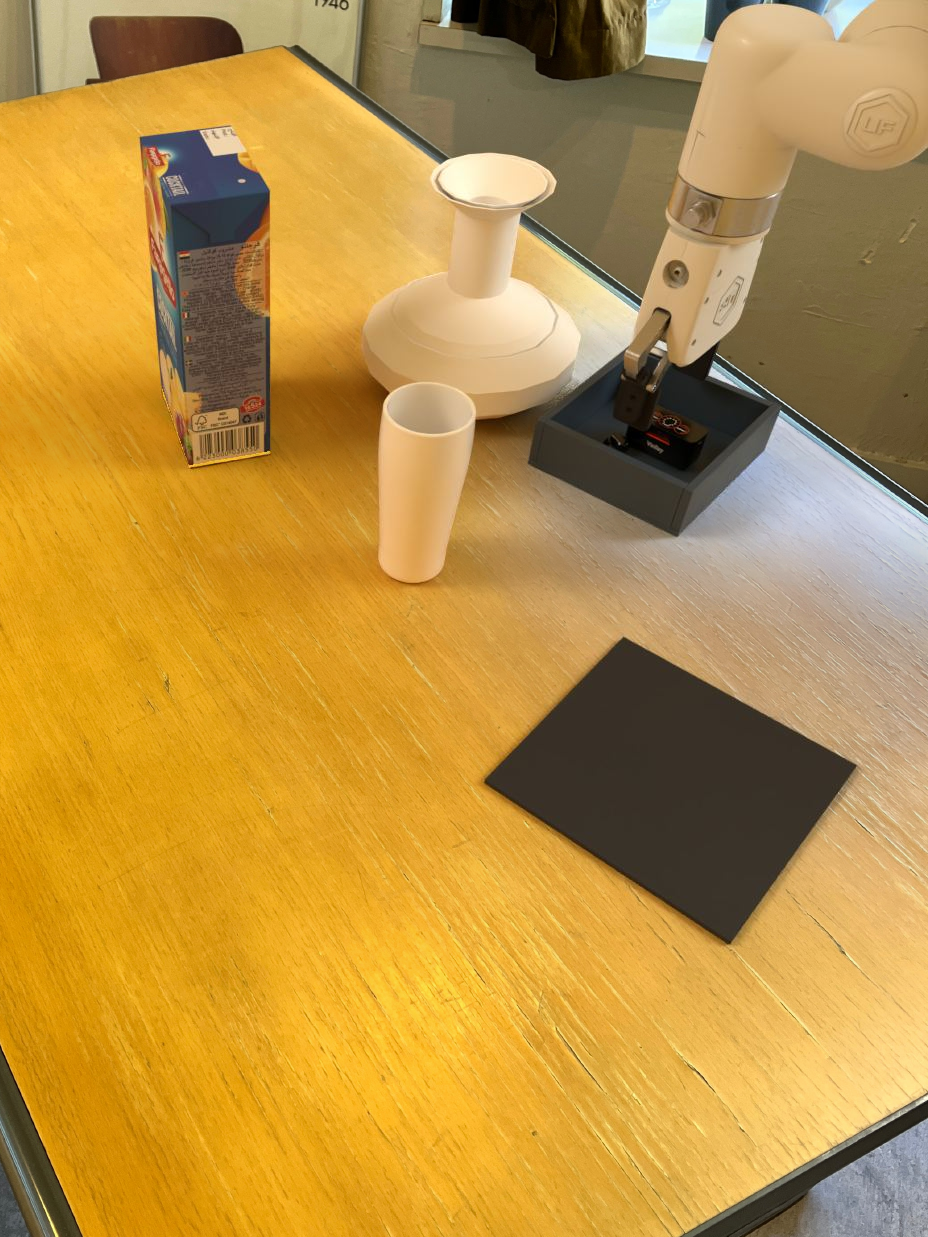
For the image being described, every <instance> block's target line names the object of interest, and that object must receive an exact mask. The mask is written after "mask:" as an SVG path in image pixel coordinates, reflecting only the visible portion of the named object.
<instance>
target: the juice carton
mask: <svg viewBox="0 0 928 1237" xmlns="http://www.w3.org/2000/svg"><path fill="white" fill-rule="evenodd" d="M138 138H139V147H140V160H141V170H142V183H143V195H144V206H145V216H146V217H145V218H146V230H147V239H148V240H147V241H148V252H149V262H150V274H151V285H152V286H151V287H152V297H153V298H152V299H153V308H154V320H155V332H156V343H157V354H158V365H159V366H158V367H159V376H160V377H159V378H160V387H161V386H162V389H163V392H164V395H165V398H166V401H167V404H168V407H169V410H170V413H171V415H172V418H173V422H174V424H175V427H176V430H177V432H178V436H179V438H180V441H181V444H182V447H183V450H184V453H185V456H186V458H187V461H188V464H189V465H193V464H200V463H206V462H209V461H215V460H221V459H228V458H234V457H239V456H245V455H251V454H256V453H262V452H267V451H271V449H272V448H271V189H270V188H269V186H268V184H267V183H266V181H265V180H264V178H263V176H262V175H261V172H260V171H259V170H258V168H257V166H256V164H255V163H254V161H253V159H252V158H251V157H250V155H249V153H248V151H247V150H246V148H245V147H244V145H243V143H242V141H241V140H240V138H239V136H238V134H236V132H235V130H234V128H233V127H232V125H222V126H221V125H220V126H213V127H206V128H198V129H192V130H191V129H190V130H182V131H175V132H167V133H159V134H150V135H142V136H139V137H138ZM183 450H182V451H183ZM271 452H272V451H271ZM184 453H183V454H184ZM185 456H184V457H185ZM187 461H186V462H187ZM188 464H187V465H188Z"/></svg>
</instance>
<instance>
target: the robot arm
mask: <svg viewBox="0 0 928 1237" xmlns="http://www.w3.org/2000/svg"><path fill="white" fill-rule="evenodd" d="M706 63H707V64H706V67H705V70H704V74H703V77H702V82H701V85H700V88H699V92H698V96H697V99H696V103H695V106H694V110H693V113H692V117H691V120H690V124H689V127H688V131H687V134H686V139H685V141H684V145H683V147H682V148H683V149H682V152H681V155H680V160H679V164H678V167H677V170H676V172H675V176H674V180H673V183H672V187H671V191H670V194H669V197H668V201H667V204H666V209H665V212H664V213H665V219H666V221H667V222H668V224H669V226H668V227H667V228H668V229H667V231H666V233H665V236H664V238H663V241H662V244H661V247H660V248H659V252H658V254H657V257H656V259H655V262H654V265H653V267H652V270H651V273H650V276H649V279H648V282H647V285H646V288H645V291H644V293H643V297H642V300H641V304H640V306H639V310H638V313H637V317H636V320H635V325H634V329H633V334H632V341H631V343H630V344H629V345H630V346H629V345H628V346H629V347H628V346H627V347H628V348H627V347H626V348H627V350H626V351H625V354H624V364H623V366H622V376H621V380H622V382H621V386H620V389H619V393H618V396H617V400H616V403H615V407H614V410H613V417H614V418H615V419H617V420H619V421H621V422H623V423H625V424H627V425H629V426H632V427H634V428H636V429H638V430H640V431H646V430H647V429H648V428H650V425H651V422H652V419H653V416H654V413H655V410H656V407H657V403H658V400H659V397H660V394H661V391H662V389H661V388H659V387H658V386H659V384H660V382H661V380H662V379H663V377H664V375H665V373H666V372H667V370H668V368H669V366H670V365H671V363H672V368H673V369H675V370H677V371H679V372H682V373H684V374H686V375H689V376H691V377H693V378H696V379H698V380H701V381H703V380H704V379H706V378H707V377H708V375H709V374H710V372H711V369H712V366H713V363H714V361H715V358H716V355H717V352H718V349H719V346H720V343H721V340H722V339H723V338H724V337H725V336H726V335H727V334H728V333H730V331H732V330H733V328H735V326H736V325H737V324H738V322H739V320H740V318H741V316H742V314H743V310H744V307H745V304H746V301H747V298H748V295H749V291H750V289H751V285H752V282H753V279H754V277H755V276H754V275H755V272H756V268H757V265H758V262H759V258H760V255H761V252H762V248H763V244H764V240H765V237H766V236H767V235H768V233H769V232H770V230H771V227H772V224H773V222H774V219H775V216H776V213H777V210H778V207H779V205H780V202H781V199H782V197H783V194H784V191H785V188H786V185H787V183H788V179H789V176H790V174H791V171H792V168H793V165H794V162H795V160H796V157H797V155H798V151H799V150H800V151H803V152H805V153H808V154H810V155H813V156H815V157H818V158H821V159H824V160H826V161H829V162H831V163H834V164H836V165H840V166H843V167H847V168H851V169H854V170H861V171H885V170H890V169H894V168H897V167H900V166H901V165H905V164H906V163H909V162H910V161H912V160H914V159H915V158H917V157H918V156H920V155H921V154H922V153H924V152H925V150H927V149H928V0H874V1H872V2H871V3H870V4H869V5H867V6H866V7H865V8H864V9H862V10H861V11H860V12H859V13H858V14H857V15H856V16H855V17H854V18H853V19H852V20H851V21H850V22H849V23H848V24H847V25H846V27H845V28H844V30H843V31H842V33H841V34H840V36H839V37H838V39H836V35H835V32H834V29H833V27H832V25H831V24H830V22H829V21H828V20H827V18H825V17H824V16H822V15H821V14H819V13H816V12H814V11H812V10H809V9H806V8H803V7H799V6H796V5H790V4H783V3H759V4H758V3H757V4H751V5H746V6H743V7H740V8H738V9H737V10H735V11H733V12H731V13H730V14H728V16H727V17H726V18H724V20H723V21H722V23H721V24H720V25H719V28H717V31H716V33H715V38H714V39H713V43H712V46H711V50H710V52H709V57H708V60H707V62H706ZM658 342H662V343H664V344H666V350H664V349H662V348H660V347H658V346H656V345H657V344H658ZM648 355H651V356H653V357H656V358H658V359H660V362H659V364H658V366H657V367H656V369H655V371H654V373H653V374H652V373H651V371H650V369H649V368H648V367H646V366H645V364H646V362H647V357H648ZM709 376H710V375H709Z"/></svg>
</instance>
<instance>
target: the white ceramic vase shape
mask: <svg viewBox="0 0 928 1237" xmlns="http://www.w3.org/2000/svg"><path fill="white" fill-rule="evenodd" d="M429 181H430V183H431V185H432V187H433V189H434V191H436V192H437V193H438V194H439V196H441V197H442V198H444V199H445V200H446V201H447V202H448V203H450V204H451V205H452V206H453V207H454V208H455V214H454V221H453V222H454V223H453V229H452V231H453V232H452V237H451V245H450V253H449V263H448V270H446V271H443V272H442V271H441V272H438V273H434V274H430V275H427V276H424V277H420V278H417V279H413V280H412V281H410V282H408V283H406V284H404V285H401V286H399V287H397V288H395V289H393V290H392V291H390V292H389V293H388V294H387V295H385V296H384V297H382V298H381V299H380V300H379V301H377V302H376V303H374V305H372V307H371V309H370V311H369V313H368V316H367V317H366V319H365V322H364V324H363V326H362V334H361V353H362V356H363V358H364V361H365V365H366V367H367V371H368V373H369V374H370V375H371V376H372V377H373V378H374V379H375V380H376V381H377V382H378V383H379V384H380V385H381V386H382V387H383V389H384V388H385V390H386V391H388V393H389V394H390V393H391V392H392V391H394V390H395V389H397V388H399V387H401V386H404V385H407V384H412V383H418V382H434V383H441V384H445V385H449V386H452V387H454V388H456V389H459V390H460V391H462V392H464V393H465V394H466V395H467V396H469V398H470V399H471V400H472V401H473V403H474V405H475V407H476V421H478V420H479V421H480V420H490V419H499V418H504V417H506V416H509V415H514V414H517V413H519V412H522V411H525V410H528V409H531V408H534V407H538V406H541V405H542V404H546V403H550V402H551V401H552V400H553V399H555V397H557V395H559V393H560V392H561V391H562V390H563V389H564V388H565V387H566V386H567V385H569V383H570V382H571V381H572V377H573V372H574V369H575V365H576V360H577V356H578V352H579V348H580V342H581V339H582V335H581V333H580V331H579V329H578V327H577V326H576V323H575V322H574V321H573V319H572V317H571V315H570V313H569V312H567V311H566V310H565V309H564V308H562V307H561V306H560V305H558V304H557V303H556V302H554V301H553V300H552V299H550V297H548V296H546V295H545V294H544V293H543V292H541V291H540V290H539V289H537V288H536V287H534V286H533V285H532V284H530V283H528V282H525V281H523V280H520V279H519V278H515V277H512V276H511V275H512V268H513V262H514V257H515V252H516V251H515V250H516V245H517V238H518V232H519V225H520V221H521V214H522V213H523V212H525V211H527V210H529V209H531V208H533V207H535V206H537V205H538V204H540V203H542V202H543V201H545V200H546V199H547V198H549V197H550V196H551V195H552V194H554V192H555V188H556V185H557V180H556V178H555V177H554V175H553V174H552V172H551V171H550V170H549V169H548V168H546V167H544V166H543V165H541V164H539V163H538V162H536V161H535V160H531V159H528V158H524V157H521V156H517V155H514V154H513V155H512V154H505V153H496V152H483V153H482V152H481V153H469V154H465V155H461V156H457V157H453V158H449V159H446V160H445V161H444V162H442V163H440V164H439V165H437V166H436V167H435V168H433V171H432V173H431V176H430V177H429Z"/></svg>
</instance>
